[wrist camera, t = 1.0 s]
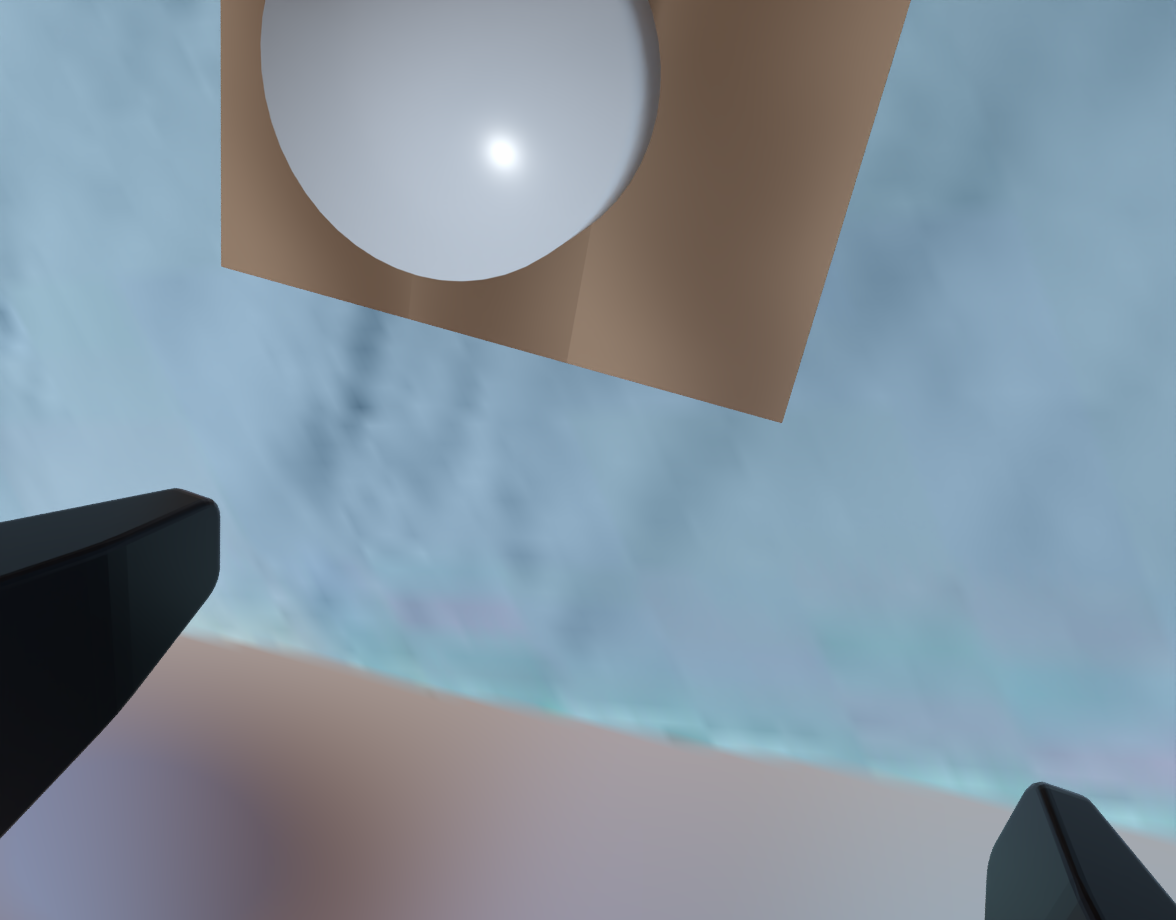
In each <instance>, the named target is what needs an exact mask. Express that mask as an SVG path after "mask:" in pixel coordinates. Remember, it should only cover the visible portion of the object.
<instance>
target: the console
mask: <svg viewBox="0 0 1176 920" xmlns="http://www.w3.org/2000/svg"><path fill="white" fill-rule="evenodd" d="M648 1H649V4H650V7H651V10H652V13H653V17H654V22H655V26H656V31H657V35H658V42H659V52H660V62H661V83H660V97H659V104H658V111H657V117H656V121H655V125H654V129H653V132H652V136H651V140H650V143H649V145H648V148H647V150H646V152H645V155H644V157H643V160H642V162H641V164H640V166H639V168H638V170H637V171H636V173H635V175H634V177H633V179H632V180H631V182H630V184H629V185H628V186H627V188H626V189H625V190H624V192H623V193H622V194H621V196H620V197H619V198H618V200H617V201H616V202H615V203H614V204H613V205H612V206H611V207H610V208H609V209H608V210H607V211H606V212H605V213H604V214H603V215H602V216H601V217H600V218H599V219H598V220H596V221H595V222H594V223H592V224H591V225H590V226H589V227H587V228H586V229H585V230H583V231H582V232H580V233H579V234H577V235H576V236H574V237H573V238H571V239H570V240H568V241H567V242H565V243H564V244H562V245H561V246H559V247H558V248H556V249H555V250H553V251H552V252H550V253H549V254H547V255H546V256H544V257H542V258H540V259H539V260H537V261H535V262H533V263H532V264H530V265H528V266H526V267H524V268H521V269H519V270H516V271H513V272H511V273H508V274H506V275H501V276H497V277H493V278H488V279H484V280H472V281H448V280H437V279H432V278H427V277H422V276H417V275H415V274H412V273H409V272H406V271H403V270H400V269H397V268H395V267H393V266H391V265H389V264H387V263H385V262H383V261H380V260H378V259H376V258H375V257H373V256H372V255H370V254H369V253H367V252H365V251H364V250H362V249H361V248H359V247H358V246H356V245H355V244H354V243H353V242H351V241H350V240H349V239H348V238H347V237H345V236H344V235H343V234H342V233H341V232H339V231H338V230H337V229H336V228H335V227H334V226H333V225H332V224H331V223H330V222H329V221H328V220H327V218H326V217H325V216H324V215H323V214H322V213H321V212H320V211H319V210H318V208H317V207H316V206H315V204H314V203H313V202H312V201H311V199H310V198H309V197H308V195H307V194H306V193H305V191H304V190H303V188H302V186H301V185H300V183H299V181H298V180H297V178H296V177H295V175H294V173H293V172H292V170H291V168H290V166H289V164H288V162H287V160H286V157H285V155H284V153H283V151H282V149H281V147H280V144H279V141H278V139H277V136H276V133H275V130H274V128H273V125H272V122H271V118H270V114H269V110H268V106H267V102H266V98H265V91H264V84H263V77H262V70H261V30H262V16H263V11H264V5H265V0H221V267H225V268H228V269H232V270H236V271H239V272H243V273H246V274H250V275H254V276H257V277H261V278H264V279H268V280H271V281H275V282H279V283H282V284H286V285H289V286H293V287H296V288H300V289H304V290H307V291H311V292H314V293H318V294H322V295H325V296H329V297H332V298H336V299H339V300H343V301H347V302H350V303H354V304H357V305H361V306H364V307H368V308H372V309H375V310H379V311H382V312H386V313H390V314H393V315H397V316H400V317H404V318H407V319H411V320H415V321H418V322H422V323H425V324H429V325H432V326H436V327H440V328H443V329H447V330H450V331H454V332H458V333H461V334H465V335H468V336H472V337H475V338H479V339H483V340H486V341H490V342H493V343H497V344H500V345H504V346H508V347H511V348H515V349H518V350H522V351H526V352H529V353H533V354H536V355H540V356H543V357H547V358H551V359H554V360H558V361H561V362H565V363H568V364H572V365H576V366H579V367H583V368H586V369H590V370H593V371H597V372H601V373H604V374H608V375H611V376H615V377H619V378H622V379H626V380H629V381H633V382H636V383H640V384H644V385H647V386H651V387H654V388H658V389H661V390H665V391H669V392H672V393H676V394H679V395H683V396H687V397H690V398H694V399H697V400H701V401H704V402H708V403H712V404H715V405H719V406H722V407H726V408H729V409H733V410H737V411H740V412H744V413H747V414H751V415H755V416H758V417H762V418H765V419H769V420H772V421H776V422H780V423H782V421H783V418H784V415H785V411H786V408H787V405H788V401H789V398H790V395H791V392H792V388H793V385H794V382H795V378H796V375H797V372H798V369H799V365H800V362H801V359H802V355H803V352H804V349H805V346H806V342H807V339H808V336H809V333H810V329H811V326H812V323H813V319H814V316H815V313H816V310H817V306H818V303H819V300H820V296H821V293H822V290H823V287H824V283H825V280H826V277H827V273H828V270H829V267H830V264H831V260H832V257H833V254H834V251H835V247H836V244H837V241H838V237H839V234H840V231H841V228H842V224H843V221H844V218H845V214H846V211H847V208H848V205H849V201H850V198H851V195H852V191H853V188H854V185H855V182H856V178H857V175H858V172H859V169H860V165H861V162H862V159H863V155H864V152H865V149H866V146H867V142H868V139H869V136H870V132H871V129H872V126H873V123H874V119H875V116H876V113H877V109H878V106H879V103H880V100H881V96H882V93H883V90H884V87H885V83H886V80H887V77H888V73H889V70H890V67H891V64H892V60H893V57H894V54H895V50H896V47H897V44H898V41H899V37H900V34H901V31H902V27H903V24H904V21H905V18H906V14H907V11H908V8H909V5H910V1H911V0H648Z"/></svg>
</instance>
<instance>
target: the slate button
mask: <svg viewBox="0 0 1176 920" xmlns="http://www.w3.org/2000/svg"><path fill="white" fill-rule="evenodd" d="M261 70H262V77H263V84H264V91H265V98H266V102H267V106H268V110H269V114H270V118H271V122H272V125H273V128H274V130H275V133H276V136H277V139H278V141H279V144H280V147H281V149H282V151H283V153H284V155H285V157H286V160H287V162H288V164H289V166H290V168H291V170H292V172H293V173H294V175H295V177H296V178H297V180H298V181H299V183H300V185H301V186H302V188H303V190H304V191H305V193H306V194H307V195H308V197H309V198H310V199H311V201H312V202H313V203H314V204H315V206H316V207H317V208H318V210H319V211H320V212H321V213H322V214H323V215H324V216H325V217H326V218H327V220H328V221H329V222H330V223H331V224H332V225H333V226H334V227H335V228H336V229H337V230H338V231H339V232H341V233H342V234H343V235H344V236H345V237H347V238H348V239H349V240H350V241H351V242H353V243H354V244H355V245H356V246H358V247H359V248H361V249H362V250H364V251H365V252H367V253H369V254H370V255H372V256H373V257H375V258H376V259H378V260H380V261H383V262H385V263H387V264H389V265H391V266H393V267H395V268H397V269H400V270H403V271H406V272H409V273H412V274H415V275H417V276H422V277H427V278H432V279H437V280H448V281H472V280H484V279H488V278H493V277H497V276H501V275H506V274H508V273H511V272H513V271H516V270H519V269H521V268H524V267H526V266H528V265H530V264H532V263H533V262H535V261H537V260H539V259H540V258H542V257H544V256H546V255H547V254H549V253H550V252H552V251H553V250H555V249H556V248H558V247H559V246H561V245H562V244H564V243H565V242H567V241H568V240H570V239H571V238H573V237H574V236H576V235H577V234H579V233H580V232H582V231H583V230H585V229H586V228H587V227H589V226H590V225H591V224H592V223H594V222H595V221H596V220H598V219H599V218H600V217H601V216H602V215H603V214H604V213H605V212H606V211H607V210H608V209H609V208H610V207H611V206H612V205H613V204H614V203H615V202H616V201H617V200H618V198H619V197H620V196H621V194H622V193H623V192H624V190H625V189H626V188H627V186H628V185H629V184H630V182H631V180H632V179H633V177H634V175H635V173H636V171H637V170H638V168H639V166H640V164H641V162H642V160H643V157H644V155H645V152H646V150H647V148H648V145H649V143H650V140H651V136H652V132H653V129H654V125H655V121H656V117H657V111H658V104H659V97H660V83H661V62H660V52H659V42H658V35H657V31H656V26H655V22H654V17H653V13H652V10H651V7H650V4H649V1H648V0H265V5H264V11H263V16H262V30H261Z"/></svg>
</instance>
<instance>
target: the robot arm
mask: <svg viewBox="0 0 1176 920" xmlns="http://www.w3.org/2000/svg"><path fill="white" fill-rule="evenodd" d="M219 571H220V511H219V508H218V505H217V504H216V503H215V502H214V501H213V500H212V499H210V498H207V497H204V496H201V495H198V494H195V493H192V492H190V491H187V490H183V489H178V488H173V489H167V490H162V491H157V492H152V493H147V494H142V495H137V496H132V497H127V498H122V499H117V500H111V501H106V502H101V503H96V504H91V505H86V506H81V507H76V508H71V509H66V510H61V511H56V512H51V513H45V514H40V515H35V516H30V517H25V518H20V519H15V520H10V521H5V522H0V838H1V837H2V836H3V835H4V834H5V833H6V832H7V831H8V830H9V829H10V828H11V827H12V826H13V825H14V824H15V822H16V821H17V820H18V819H19V818H20V817H21V816H22V815H23V814H24V813H25V812H26V811H27V810H28V809H29V808H30V807H31V806H32V805H33V804H34V802H35V801H36V800H37V799H38V798H39V797H40V796H41V795H42V794H43V793H44V792H45V791H46V790H47V789H48V788H49V786H51V785H52V783H53V782H54V781H55V780H56V779H57V778H58V777H59V776H60V775H61V774H62V773H63V772H64V771H65V770H66V769H67V768H68V767H69V766H70V764H71V763H72V762H73V761H74V760H75V759H76V758H77V757H78V756H79V755H80V754H81V753H82V752H83V751H84V750H85V749H86V748H87V747H88V745H89V744H90V743H91V742H92V741H93V740H94V739H95V738H96V737H97V736H98V735H99V734H100V733H101V732H102V731H103V729H104V728H105V727H106V726H107V725H108V724H109V723H110V722H111V720H112V719H113V718H114V717H115V716H116V715H117V714H118V713H119V711H120V710H121V709H122V708H123V707H124V705H125V704H126V703H127V702H128V701H129V699H130V698H131V697H132V696H133V694H134V693H135V692H136V691H137V689H138V688H139V687H140V685H141V684H142V683H143V682H144V680H145V679H146V678H147V676H148V675H149V674H150V673H151V671H152V670H153V669H154V667H155V666H156V665H157V663H158V662H159V661H160V660H161V658H162V657H163V656H164V654H165V653H166V652H167V650H168V649H169V648H170V647H171V645H172V644H173V643H174V641H175V640H176V639H177V637H178V636H179V635H180V634H181V632H182V631H183V630H184V628H185V627H186V626H187V625H188V623H189V622H190V621H191V619H192V618H193V617H194V615H195V614H196V613H197V612H198V610H199V609H200V608H201V606H202V605H203V604H204V602H205V601H206V600H207V599H208V597H209V596H210V594H211V593H212V591H213V589H214V587H215V585H216V583H217V580H218V576H219ZM985 920H1176V903H1175V902H1174V901H1173V900H1172V899H1171V897H1170V896H1169V895H1168V894H1167V893H1166V891H1165V890H1164V889H1163V888H1162V887H1161V885H1160V884H1159V883H1158V882H1157V881H1156V879H1155V878H1154V877H1153V876H1152V874H1151V873H1150V872H1149V871H1148V870H1147V868H1146V867H1145V866H1144V865H1143V864H1142V863H1141V861H1140V860H1139V859H1138V858H1137V857H1136V855H1135V854H1134V853H1133V852H1132V850H1131V849H1130V848H1129V847H1128V845H1127V844H1126V843H1125V842H1124V841H1123V839H1122V838H1121V837H1120V836H1119V835H1118V833H1117V832H1116V831H1115V830H1114V829H1113V827H1112V826H1111V825H1110V824H1109V823H1108V821H1107V820H1106V819H1105V818H1104V817H1103V815H1102V814H1101V813H1100V812H1099V810H1098V809H1097V808H1096V807H1095V806H1094V805H1093V804H1092V802H1091V801H1090V800H1089V799H1087V798H1086V797H1084V796H1082V795H1080V794H1077V793H1074V792H1071V791H1068V790H1065V789H1062V788H1059V787H1056V786H1053V785H1050V784H1048V783H1045V782H1037V783H1033V784H1032V785H1031V786H1029V787H1028V788H1027V789H1026V791H1025V792H1024V794H1023V795H1022V797H1021V799H1020V801H1019V802H1018V804H1017V806H1016V808H1015V809H1014V811H1013V813H1012V815H1011V816H1010V818H1009V820H1008V822H1007V824H1006V825H1005V827H1004V829H1003V831H1002V832H1001V834H1000V836H999V838H998V840H997V841H996V843H995V845H994V847H993V849H992V852H991V855H990V859H989V863H988V869H987V880H986V903H985Z"/></svg>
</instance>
